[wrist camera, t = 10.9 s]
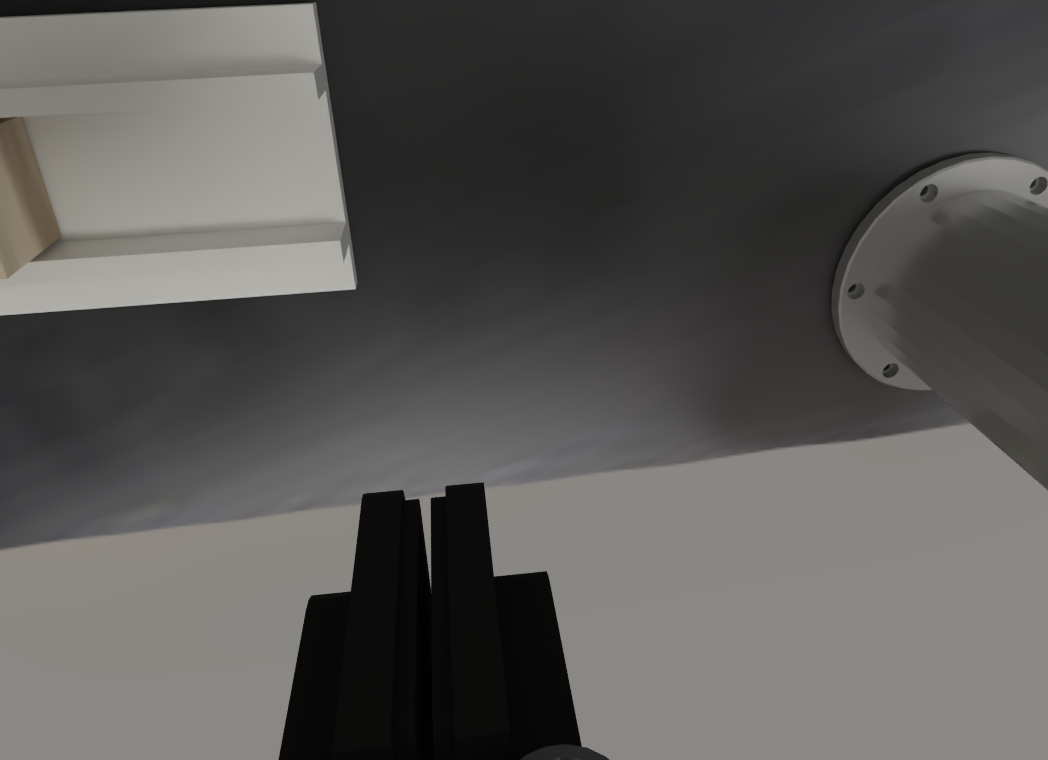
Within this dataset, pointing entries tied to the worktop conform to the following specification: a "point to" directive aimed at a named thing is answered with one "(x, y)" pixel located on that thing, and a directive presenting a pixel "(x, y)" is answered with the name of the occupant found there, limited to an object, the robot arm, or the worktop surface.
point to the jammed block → (22, 201)
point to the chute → (178, 156)
